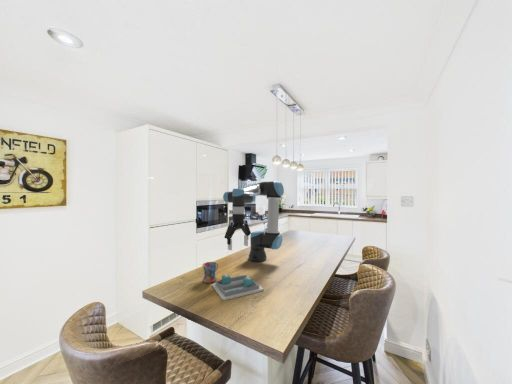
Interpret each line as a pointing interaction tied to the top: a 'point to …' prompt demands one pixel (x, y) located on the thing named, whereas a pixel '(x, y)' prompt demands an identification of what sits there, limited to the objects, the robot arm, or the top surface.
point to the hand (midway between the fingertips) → (238, 247)
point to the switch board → (235, 288)
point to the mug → (210, 272)
